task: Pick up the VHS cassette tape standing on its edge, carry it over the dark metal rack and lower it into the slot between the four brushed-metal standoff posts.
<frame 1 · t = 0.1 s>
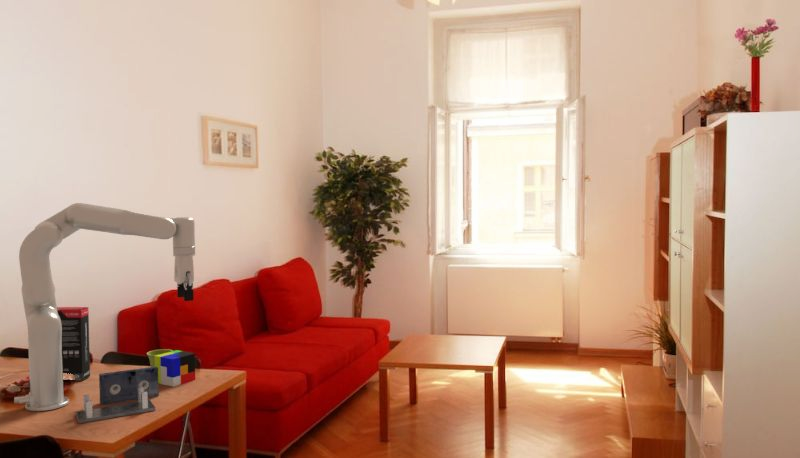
hand: (185, 298, 236), 31 cm above the table, tool pointing down, fingers open, 9 cm apart
graphics card box: (64, 380, 245), on the table
plant pot: (160, 374, 251), on the table
rack: (116, 412, 207), on the table
puzzle toy: (175, 381, 242), on the table
vhs cassette tape: (129, 400, 220), on the table
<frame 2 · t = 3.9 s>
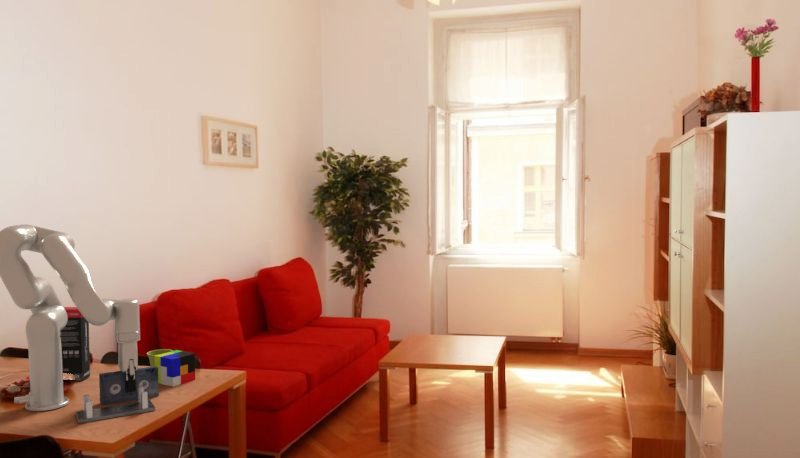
hand: (129, 389, 220), 3 cm above the table, tool pointing down, fingers closed on vhs cassette tape, 2 cm apart
vhs cassette tape: (129, 400, 220), on the table, touching gripper
everything else where it was.
when the fingers open (6 cm above the table, at t = 7.8 s): vhs cassette tape drops 1 cm, resting on rack.
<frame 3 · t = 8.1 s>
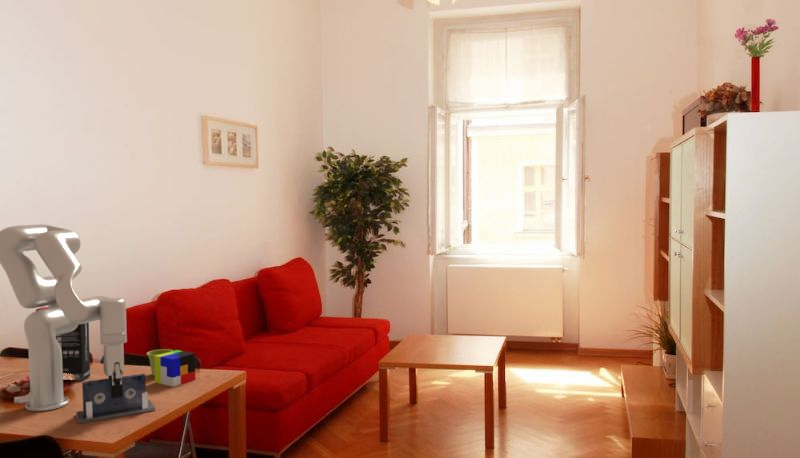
hand: (115, 394, 207), 6 cm above the table, tool pointing down, fingers open, 5 cm apart
vhs cassette tape: (115, 410, 207), point 1 cm above the table, touching rack
everything else where it was.
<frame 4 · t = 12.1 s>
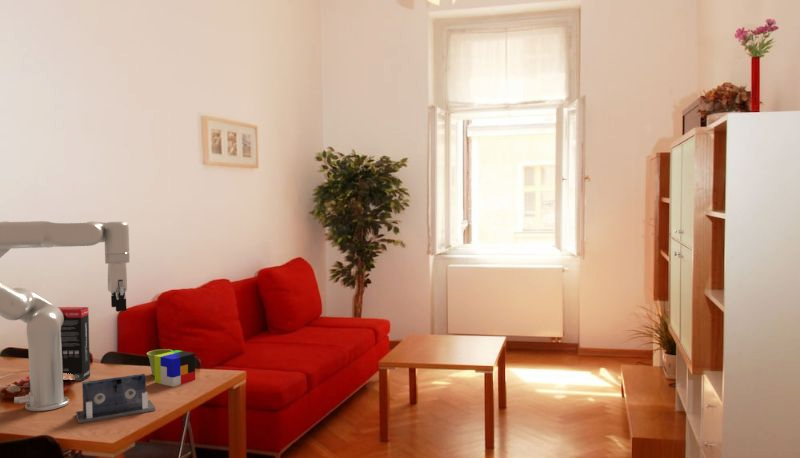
hand: (118, 308, 221), 30 cm above the table, tool pointing down, fingers open, 9 cm apart
nothing on the table moved.
at the end: vhs cassette tape inside the target area on the rack (0.2 cm from its centre), point 0.8 cm above the rack's base; vhs cassette tape tilted 0°; the gripper is holding nothing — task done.
